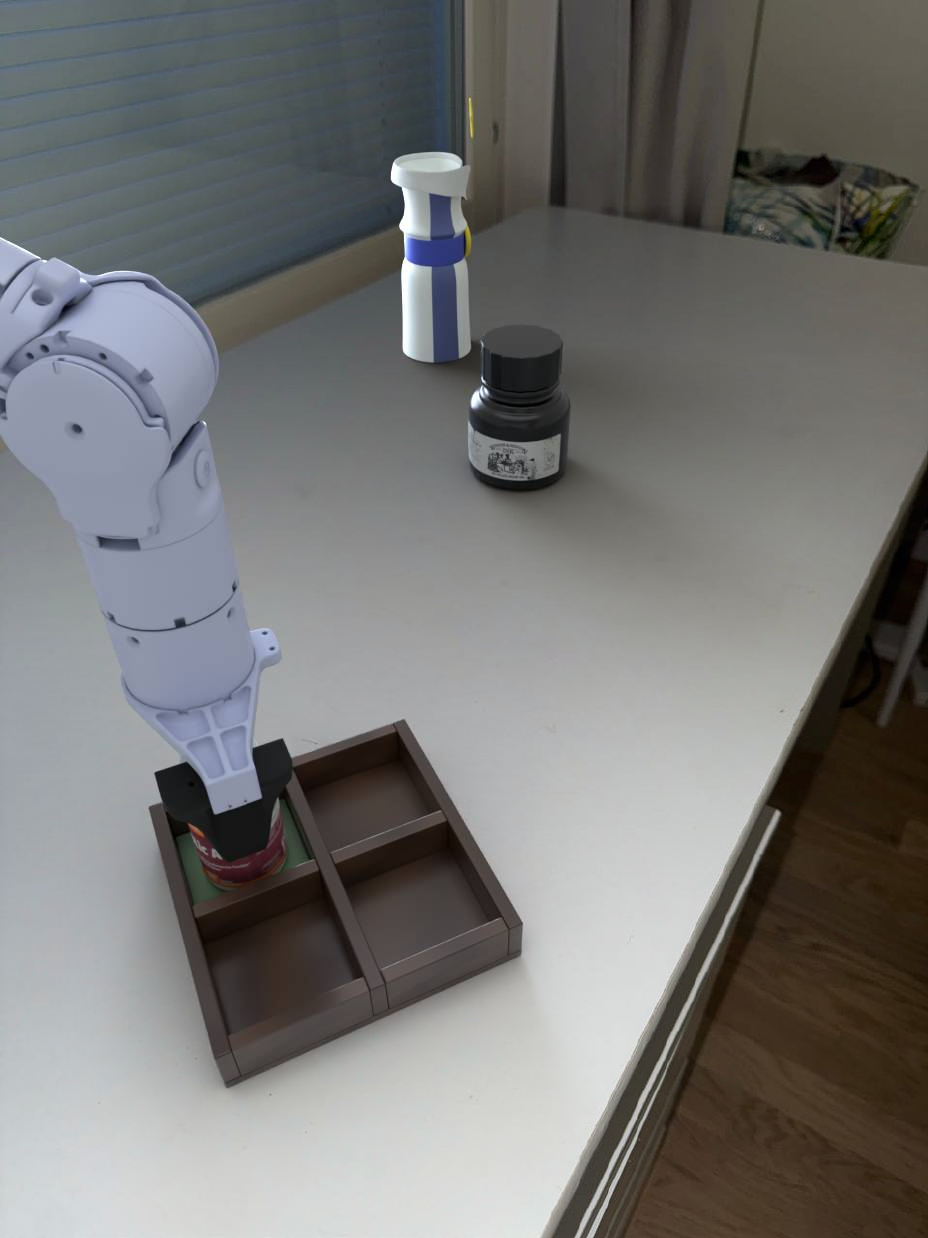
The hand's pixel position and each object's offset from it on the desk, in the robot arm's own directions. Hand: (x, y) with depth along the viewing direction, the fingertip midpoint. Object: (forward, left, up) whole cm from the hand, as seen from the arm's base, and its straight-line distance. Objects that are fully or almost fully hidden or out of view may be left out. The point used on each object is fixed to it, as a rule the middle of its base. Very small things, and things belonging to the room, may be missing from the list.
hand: (226, 794), depth 47 cm
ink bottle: (+34, +31, -7) cm, 46 cm away
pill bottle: (0, 0, -6) cm, 6 cm away
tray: (+4, -4, -6) cm, 8 cm away
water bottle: (+38, +58, -7) cm, 70 cm away
